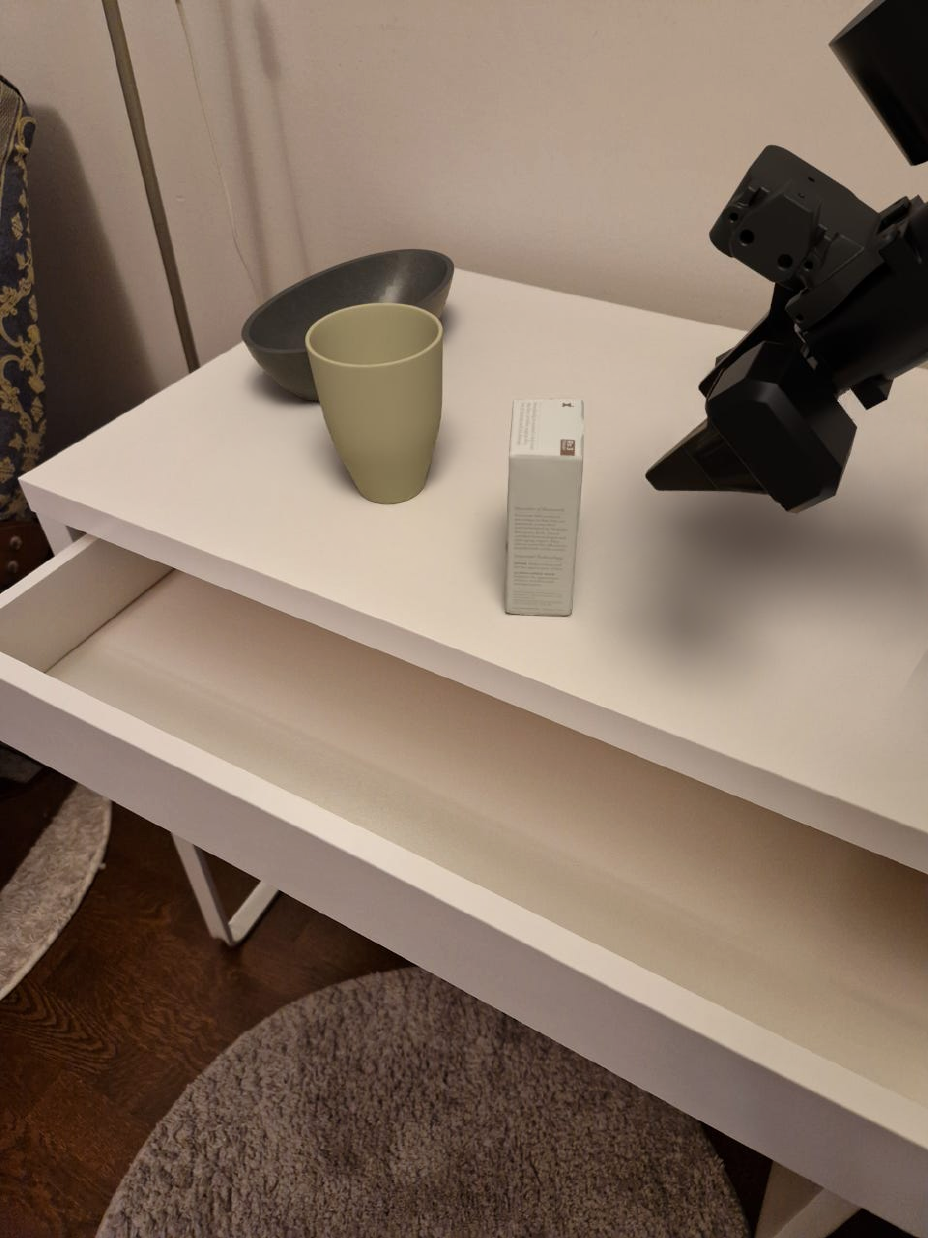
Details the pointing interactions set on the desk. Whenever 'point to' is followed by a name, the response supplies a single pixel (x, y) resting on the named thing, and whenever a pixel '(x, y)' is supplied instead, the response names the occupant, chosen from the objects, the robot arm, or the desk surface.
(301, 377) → the bowl
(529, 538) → the cosmetic box
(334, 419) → the olive green cup
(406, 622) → the desk surface
